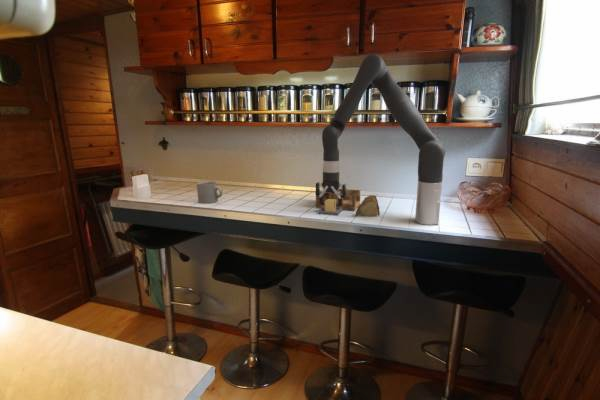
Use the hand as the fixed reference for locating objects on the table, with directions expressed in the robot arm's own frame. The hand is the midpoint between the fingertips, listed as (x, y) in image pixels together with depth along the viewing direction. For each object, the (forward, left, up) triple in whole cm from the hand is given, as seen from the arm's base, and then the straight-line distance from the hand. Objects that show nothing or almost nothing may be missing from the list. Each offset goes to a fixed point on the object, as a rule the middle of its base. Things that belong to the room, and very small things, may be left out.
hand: (330, 205), depth 158 cm
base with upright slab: (+109, +6, -3) cm, 109 cm away
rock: (-17, 0, -3) cm, 17 cm away
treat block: (0, 0, -3) cm, 3 cm away
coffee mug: (+65, +2, -3) cm, 65 cm away
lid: (+5, -11, +5) cm, 13 cm away
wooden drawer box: (0, -12, -3) cm, 12 cm away
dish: (0, 0, -3) cm, 3 cm away
